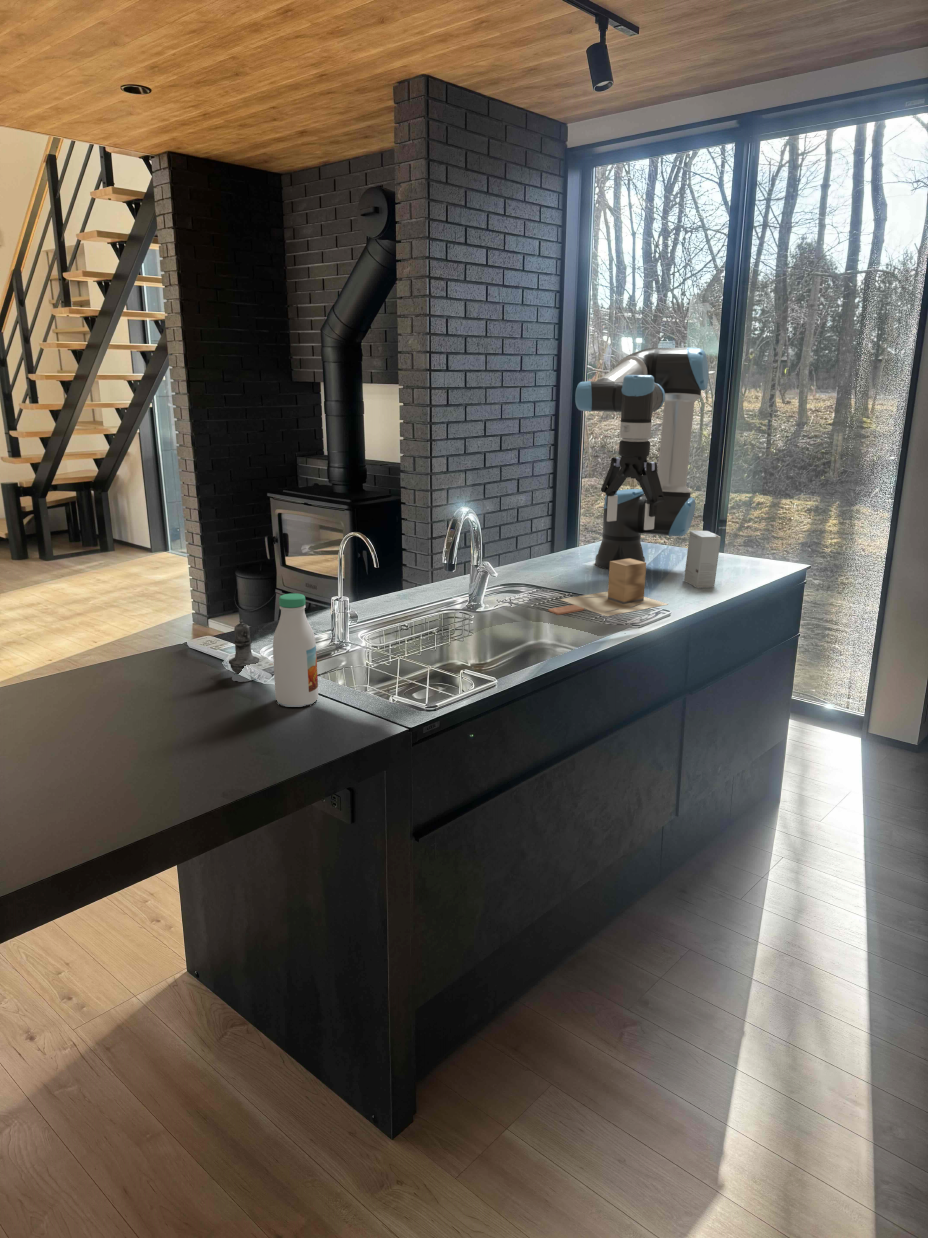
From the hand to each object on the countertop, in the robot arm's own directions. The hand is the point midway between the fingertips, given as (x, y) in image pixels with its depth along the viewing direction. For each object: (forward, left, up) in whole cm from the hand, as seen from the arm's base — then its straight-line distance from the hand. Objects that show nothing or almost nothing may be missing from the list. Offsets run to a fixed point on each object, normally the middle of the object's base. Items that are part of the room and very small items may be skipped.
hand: (629, 525), depth 220 cm
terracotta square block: (+18, 0, -21) cm, 28 cm away
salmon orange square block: (+22, 0, -21) cm, 30 cm away
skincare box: (-33, -5, -21) cm, 39 cm away
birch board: (+4, 0, -21) cm, 21 cm away
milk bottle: (+98, +19, -21) cm, 102 cm away
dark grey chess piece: (+102, +2, -21) cm, 104 cm away
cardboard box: (0, 0, -19) cm, 19 cm away
